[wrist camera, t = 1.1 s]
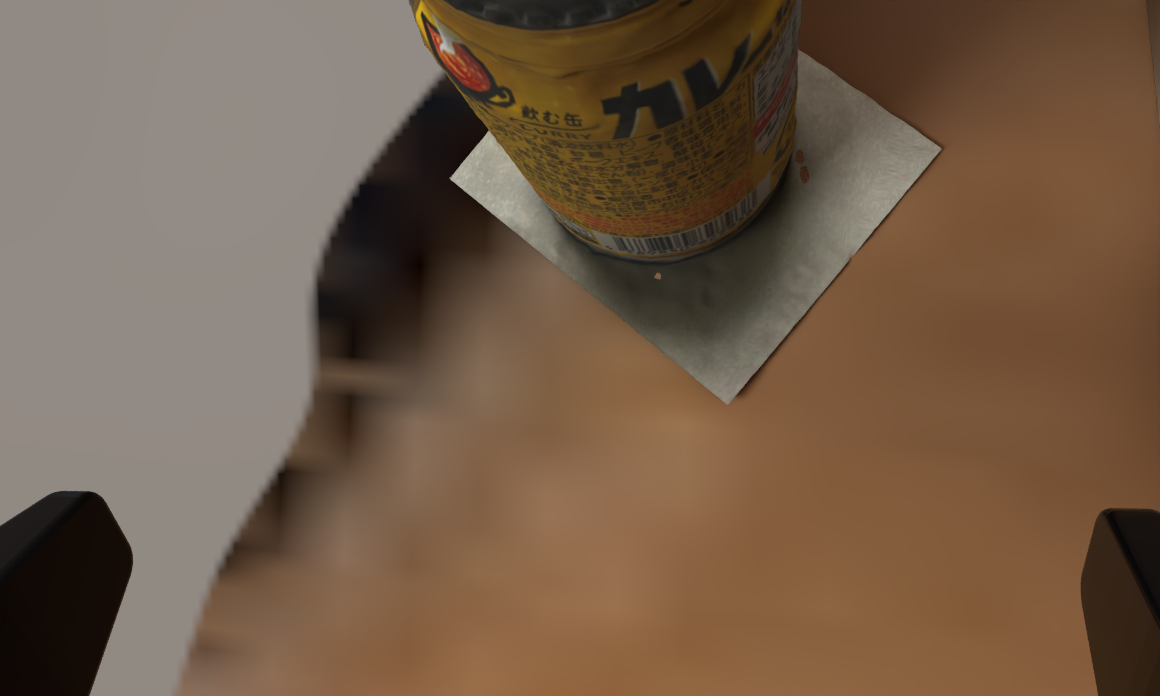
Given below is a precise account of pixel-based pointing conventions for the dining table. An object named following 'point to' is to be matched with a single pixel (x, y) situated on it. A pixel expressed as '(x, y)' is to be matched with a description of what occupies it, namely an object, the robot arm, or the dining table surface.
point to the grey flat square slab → (1155, 43)
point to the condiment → (674, 160)
